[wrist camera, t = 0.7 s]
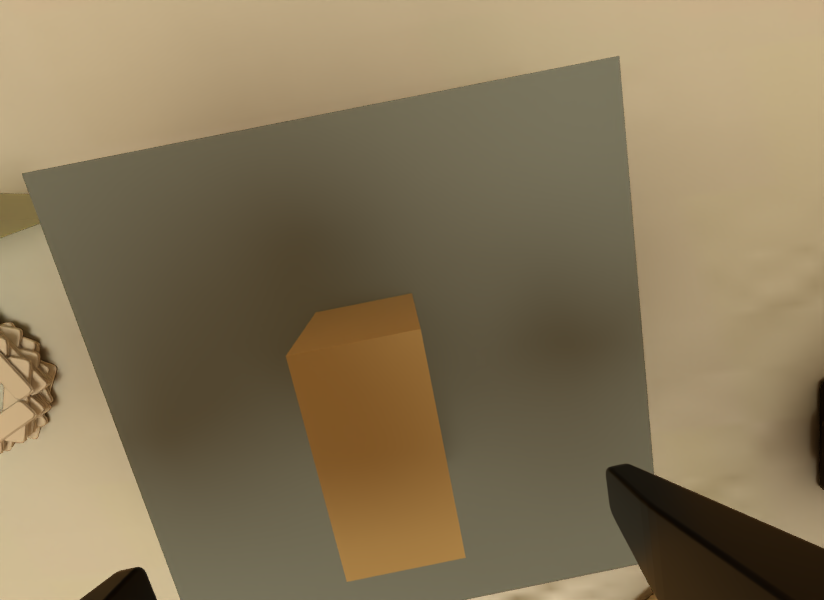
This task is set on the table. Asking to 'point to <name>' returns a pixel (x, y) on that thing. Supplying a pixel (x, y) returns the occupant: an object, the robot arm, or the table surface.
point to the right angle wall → (21, 351)
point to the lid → (371, 340)
